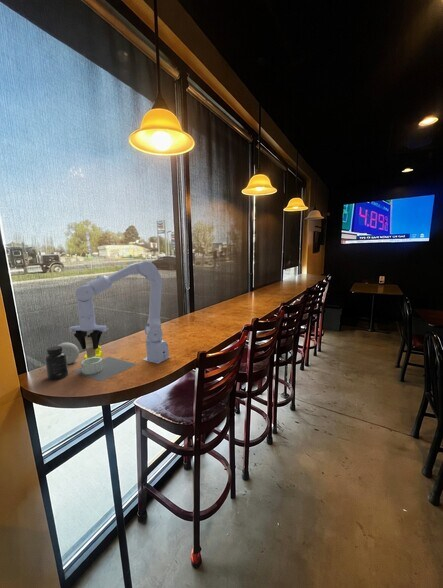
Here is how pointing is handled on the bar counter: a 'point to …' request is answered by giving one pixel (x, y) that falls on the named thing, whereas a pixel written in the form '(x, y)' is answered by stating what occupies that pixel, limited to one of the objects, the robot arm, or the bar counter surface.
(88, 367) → the jar
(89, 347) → the peg
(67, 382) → the bar counter surface
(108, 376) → the mat
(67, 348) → the grey round disc
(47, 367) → the supplement bottle
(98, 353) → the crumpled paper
